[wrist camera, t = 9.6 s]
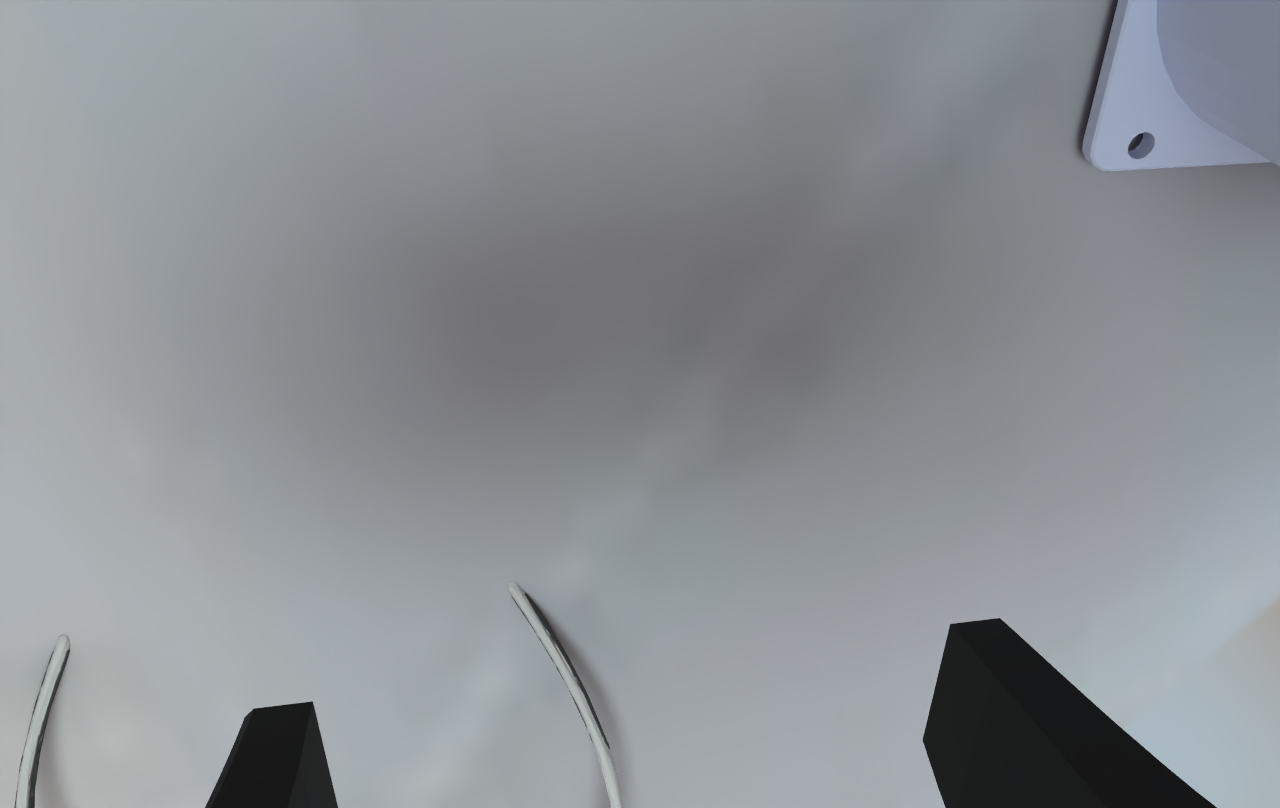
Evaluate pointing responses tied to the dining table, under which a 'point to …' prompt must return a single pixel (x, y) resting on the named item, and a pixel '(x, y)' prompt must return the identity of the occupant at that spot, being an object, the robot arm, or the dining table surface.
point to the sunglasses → (526, 605)
